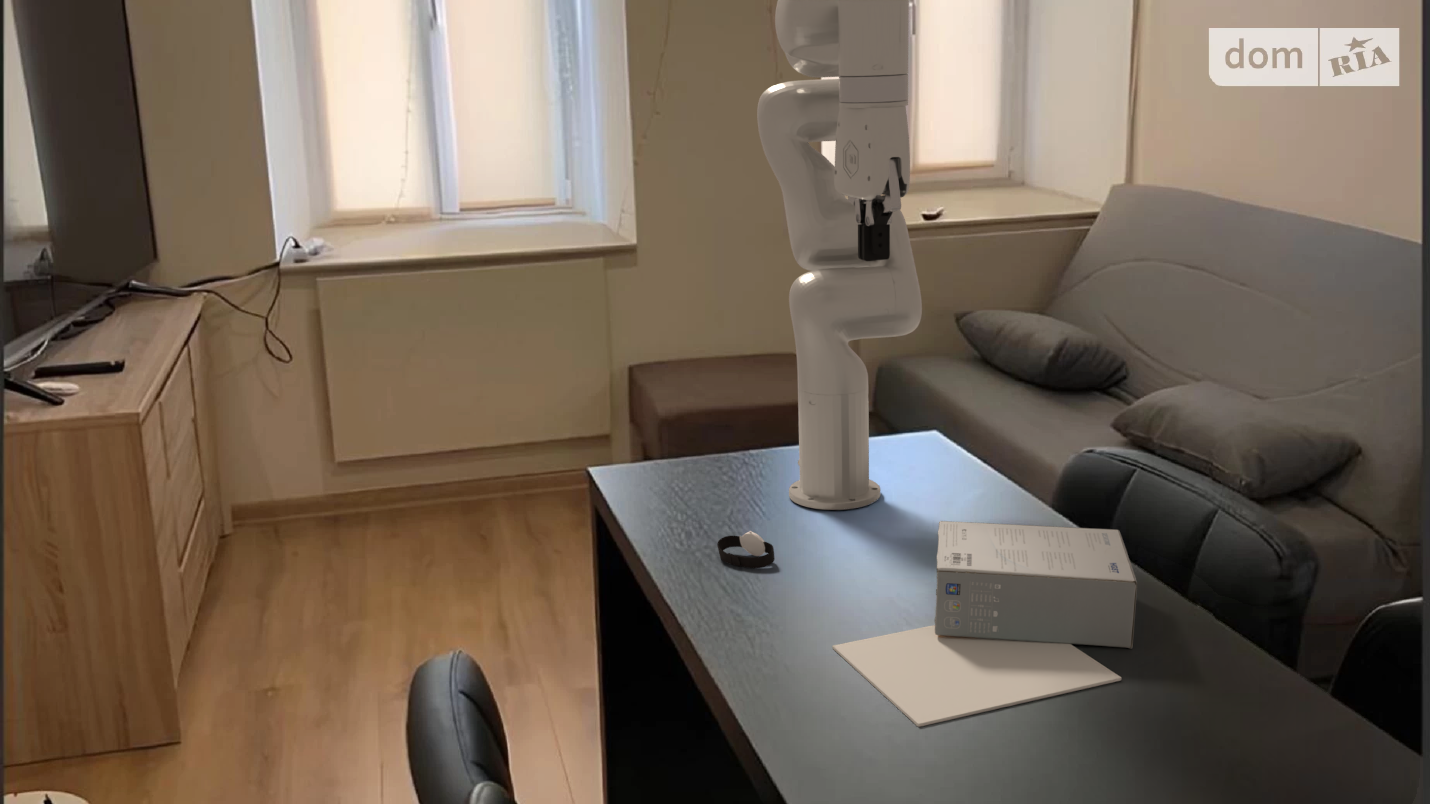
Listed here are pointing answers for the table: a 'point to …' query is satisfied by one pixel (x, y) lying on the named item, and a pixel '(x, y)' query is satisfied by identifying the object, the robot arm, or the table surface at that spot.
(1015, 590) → the hard drive box
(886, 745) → the table surface
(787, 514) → the table surface
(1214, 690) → the table surface
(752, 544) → the watch
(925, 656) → the mat
